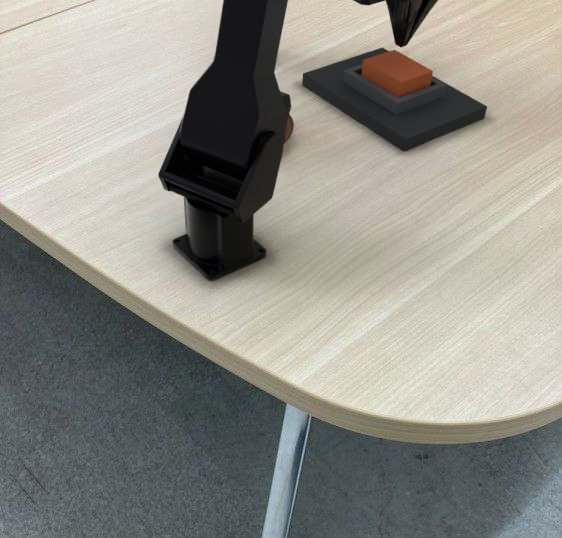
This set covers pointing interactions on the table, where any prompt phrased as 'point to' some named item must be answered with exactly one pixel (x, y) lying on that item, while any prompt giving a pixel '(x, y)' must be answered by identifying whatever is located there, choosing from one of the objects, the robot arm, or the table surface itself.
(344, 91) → the black base pad
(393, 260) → the table surface
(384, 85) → the reddish brown rectangular block
